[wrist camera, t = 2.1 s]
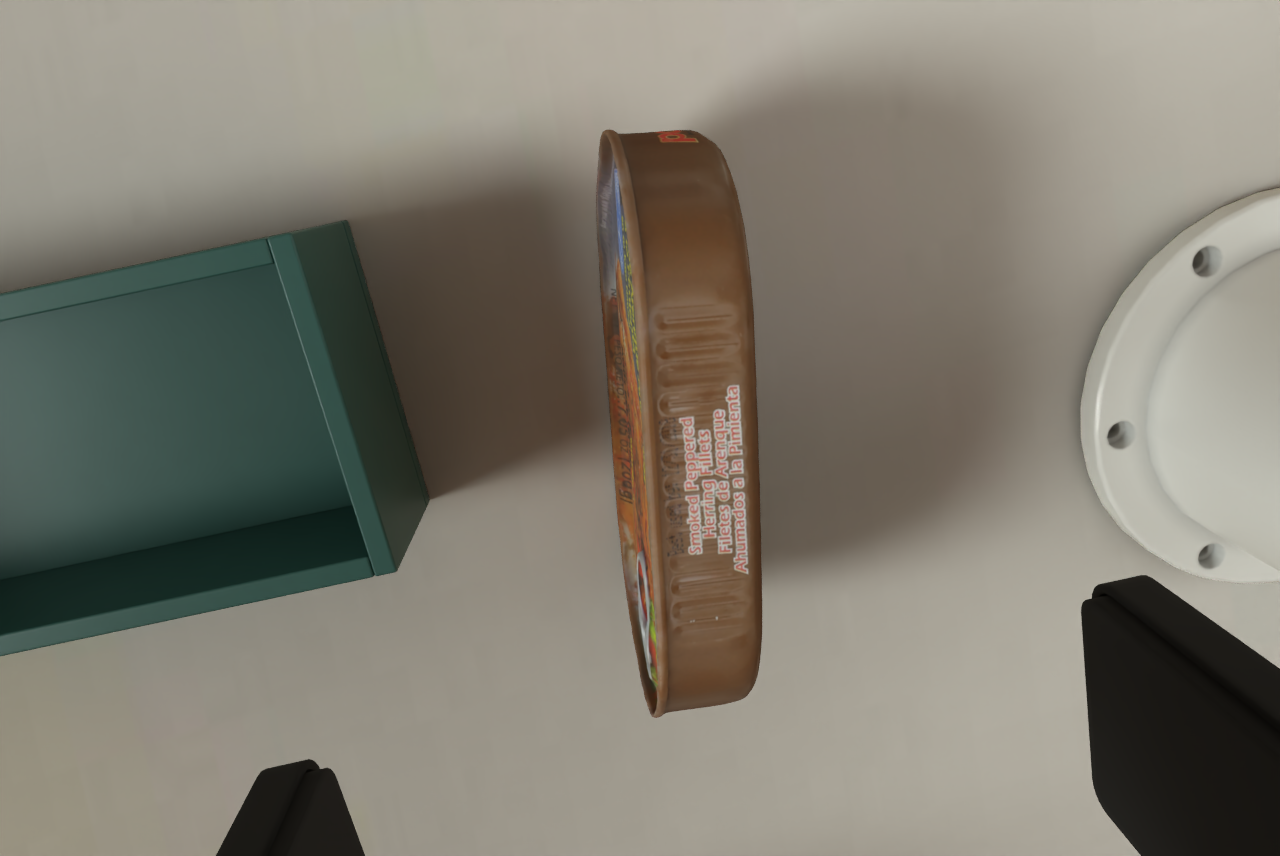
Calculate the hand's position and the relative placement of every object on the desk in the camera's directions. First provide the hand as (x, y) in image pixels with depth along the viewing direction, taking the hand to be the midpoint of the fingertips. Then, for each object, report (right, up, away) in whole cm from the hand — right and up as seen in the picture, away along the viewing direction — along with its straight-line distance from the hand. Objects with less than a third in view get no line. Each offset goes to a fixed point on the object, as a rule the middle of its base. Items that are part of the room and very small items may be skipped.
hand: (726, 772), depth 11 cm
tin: (0, +5, +16) cm, 17 cm away
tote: (-18, +4, +15) cm, 24 cm away
